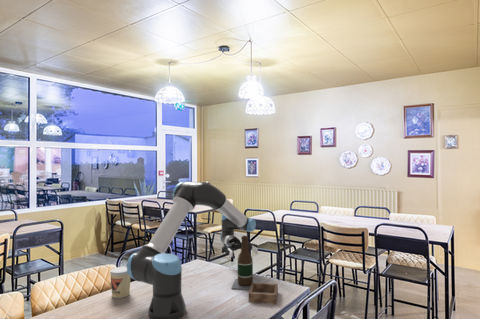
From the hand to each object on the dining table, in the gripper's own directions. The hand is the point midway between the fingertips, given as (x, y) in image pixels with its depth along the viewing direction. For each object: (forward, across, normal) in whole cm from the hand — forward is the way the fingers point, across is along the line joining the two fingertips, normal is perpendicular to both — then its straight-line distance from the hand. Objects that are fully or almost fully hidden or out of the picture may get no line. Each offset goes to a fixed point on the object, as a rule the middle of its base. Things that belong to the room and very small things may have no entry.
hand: (244, 252), depth 162 cm
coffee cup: (-7, +60, -16) cm, 63 cm away
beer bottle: (+2, +1, -15) cm, 15 cm away
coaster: (+2, +1, -16) cm, 16 cm away
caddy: (+18, -3, -16) cm, 24 cm away
